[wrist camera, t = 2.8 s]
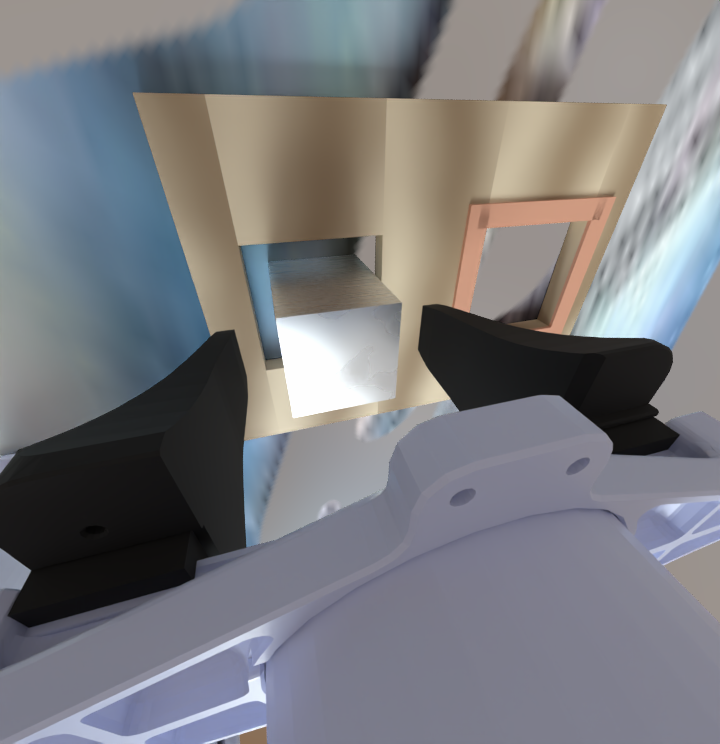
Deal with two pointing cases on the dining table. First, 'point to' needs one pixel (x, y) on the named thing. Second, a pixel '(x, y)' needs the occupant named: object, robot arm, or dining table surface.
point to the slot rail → (387, 204)
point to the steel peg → (335, 333)
